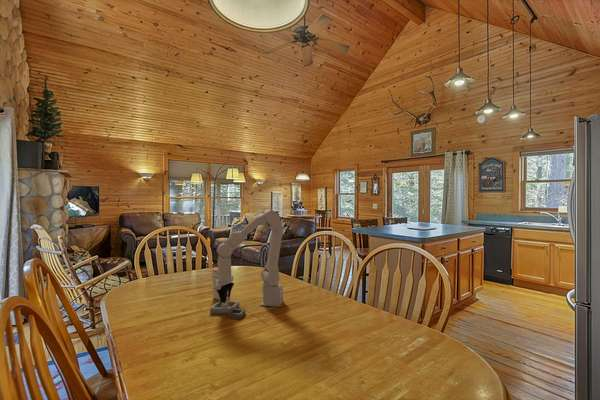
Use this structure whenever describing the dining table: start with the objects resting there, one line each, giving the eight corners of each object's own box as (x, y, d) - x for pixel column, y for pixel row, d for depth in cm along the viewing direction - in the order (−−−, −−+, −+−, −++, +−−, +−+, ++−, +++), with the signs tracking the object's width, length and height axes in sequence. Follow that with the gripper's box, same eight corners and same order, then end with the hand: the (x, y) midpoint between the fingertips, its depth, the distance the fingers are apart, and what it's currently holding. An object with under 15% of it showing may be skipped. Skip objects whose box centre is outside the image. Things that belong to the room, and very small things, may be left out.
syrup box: (220, 300, 151) (219, 270, 150) (212, 297, 154) (212, 269, 154) (229, 297, 155) (228, 268, 155) (221, 294, 159) (221, 266, 158)
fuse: (229, 305, 138) (229, 289, 138) (226, 307, 135) (226, 291, 135) (223, 304, 139) (223, 289, 139) (220, 307, 136) (219, 291, 136)
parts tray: (239, 307, 141) (239, 301, 141) (230, 315, 132) (230, 309, 132) (219, 305, 143) (219, 300, 143) (210, 313, 133) (210, 307, 133)
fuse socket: (245, 314, 133) (245, 309, 133) (240, 319, 127) (240, 314, 127) (233, 313, 134) (233, 308, 134) (227, 318, 128) (227, 313, 128)
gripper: (223, 266, 145) (223, 295, 145) (208, 274, 131) (209, 306, 131) (237, 266, 143) (237, 295, 144) (224, 275, 129) (224, 307, 129)
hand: (225, 300), depth 137 cm, fingers closed on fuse, 3 cm apart
